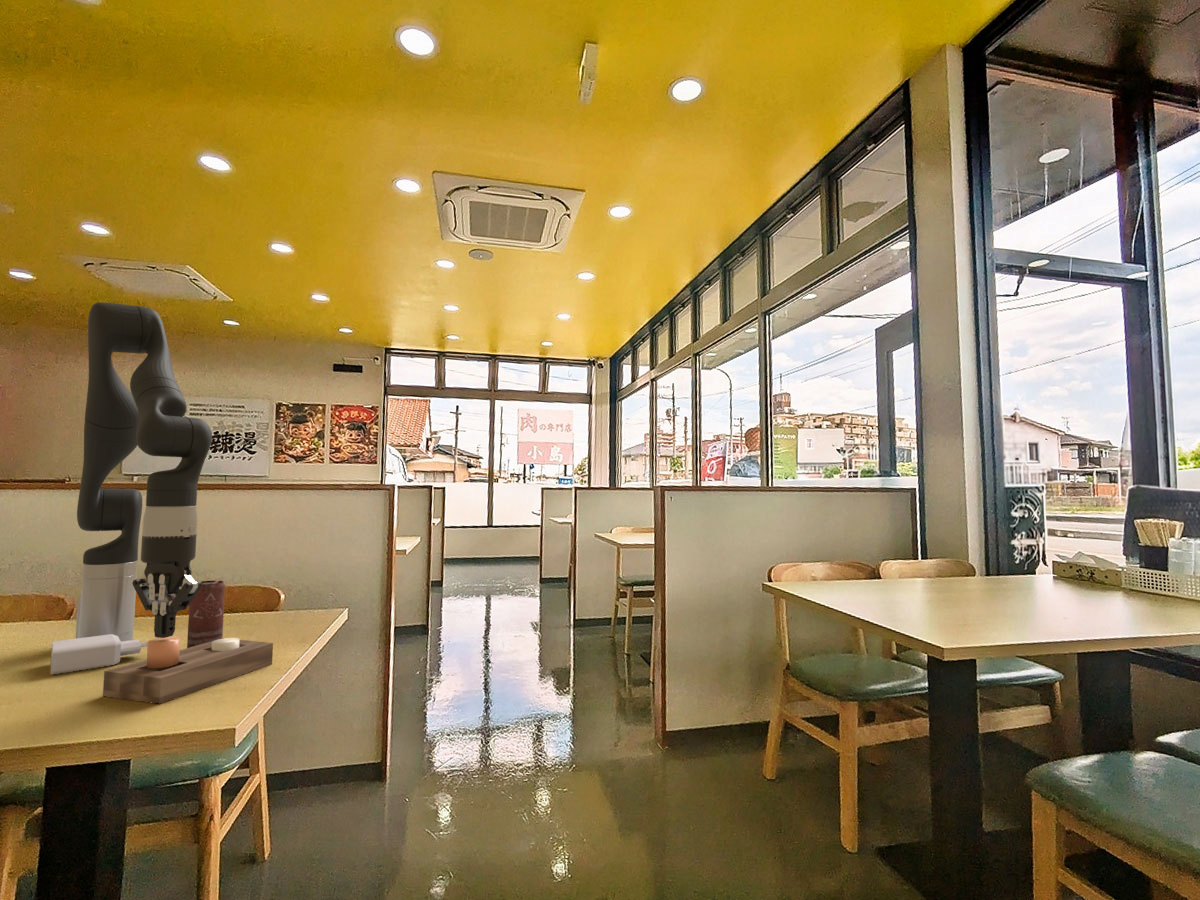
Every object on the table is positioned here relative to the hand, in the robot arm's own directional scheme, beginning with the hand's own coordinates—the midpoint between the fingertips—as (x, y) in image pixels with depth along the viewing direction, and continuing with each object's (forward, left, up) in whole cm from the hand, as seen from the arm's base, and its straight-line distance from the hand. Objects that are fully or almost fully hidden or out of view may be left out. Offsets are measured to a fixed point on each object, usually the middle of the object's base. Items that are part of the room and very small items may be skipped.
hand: (164, 636), depth 99 cm
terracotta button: (0, 0, -5) cm, 5 cm away
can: (-15, +21, -9) cm, 27 cm away
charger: (-26, +9, -9) cm, 29 cm away
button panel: (0, +6, -9) cm, 11 cm away
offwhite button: (0, +12, -8) cm, 14 cm away
